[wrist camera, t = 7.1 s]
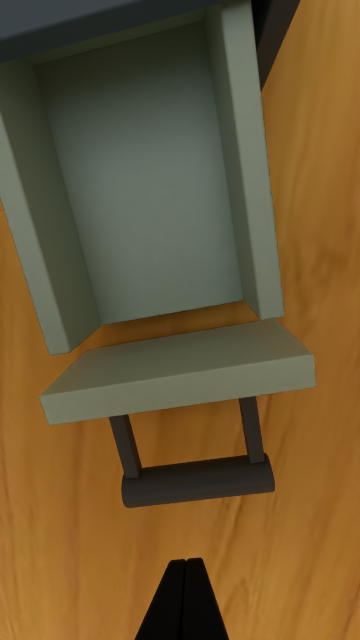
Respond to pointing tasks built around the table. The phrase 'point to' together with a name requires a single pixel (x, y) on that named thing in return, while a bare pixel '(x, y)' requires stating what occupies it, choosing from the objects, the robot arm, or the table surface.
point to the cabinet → (123, 23)
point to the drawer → (151, 232)
